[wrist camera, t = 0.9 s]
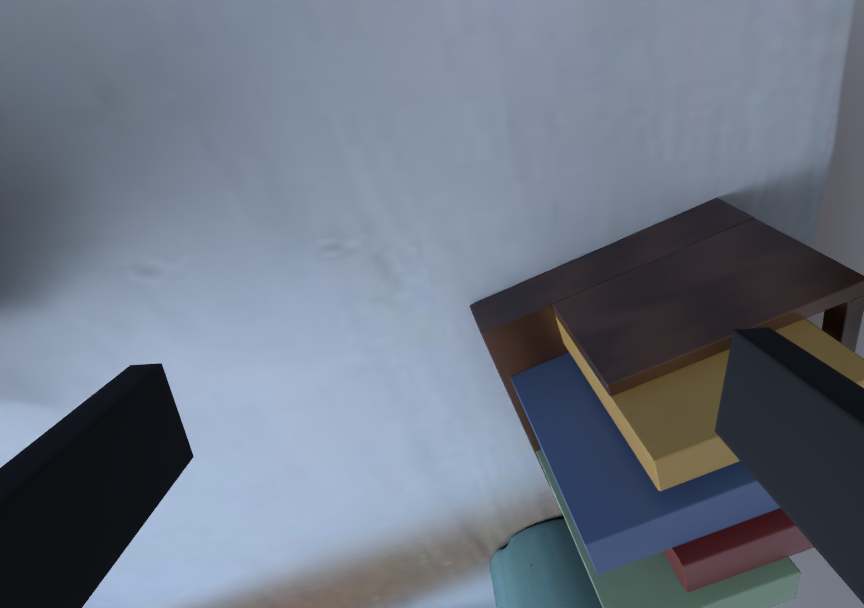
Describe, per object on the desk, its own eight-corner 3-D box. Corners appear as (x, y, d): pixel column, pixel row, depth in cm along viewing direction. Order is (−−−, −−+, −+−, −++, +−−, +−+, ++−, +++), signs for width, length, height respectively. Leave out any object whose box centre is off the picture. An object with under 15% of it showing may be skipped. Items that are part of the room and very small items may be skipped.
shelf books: (588, 422, 30) (686, 593, 21) (554, 315, 25) (669, 486, 16) (720, 369, 29) (879, 524, 21) (716, 246, 24) (930, 387, 15)
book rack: (536, 455, 36) (587, 574, 28) (469, 305, 27) (517, 422, 19) (722, 381, 34) (826, 486, 27) (717, 197, 25) (871, 278, 18)
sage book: (546, 475, 33) (625, 658, 24) (535, 450, 31) (615, 638, 22) (667, 428, 32) (796, 598, 23) (663, 399, 30) (801, 572, 21)
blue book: (523, 407, 28) (597, 575, 20) (509, 376, 27) (584, 545, 18) (662, 350, 27) (800, 501, 19) (658, 314, 26) (806, 462, 18)
